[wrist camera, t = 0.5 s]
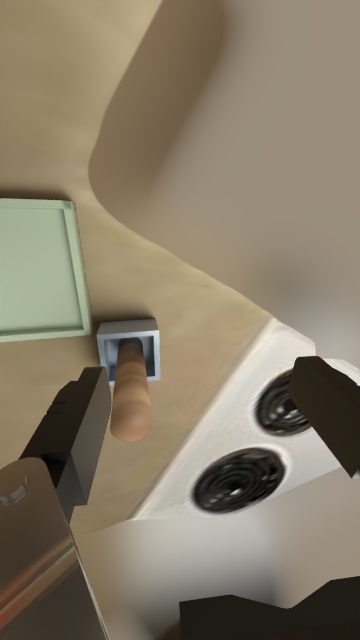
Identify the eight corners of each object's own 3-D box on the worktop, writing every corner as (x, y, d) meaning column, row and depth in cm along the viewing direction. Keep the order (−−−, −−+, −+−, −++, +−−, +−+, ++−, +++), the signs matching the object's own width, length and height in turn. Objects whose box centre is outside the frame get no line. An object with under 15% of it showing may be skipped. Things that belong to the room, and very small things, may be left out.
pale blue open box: (100, 322, 31) (96, 335, 27) (155, 318, 33) (158, 330, 29) (107, 368, 34) (103, 386, 30) (156, 362, 36) (160, 379, 32)
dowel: (117, 336, 32) (107, 413, 18) (142, 334, 32) (151, 406, 19) (119, 358, 33) (112, 444, 19) (143, 355, 34) (152, 437, 20)
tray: (-47, 199, 23) (-63, 196, 21) (74, 203, 26) (70, 200, 24) (-2, 335, 29) (-12, 343, 27) (93, 328, 31) (91, 334, 29)
